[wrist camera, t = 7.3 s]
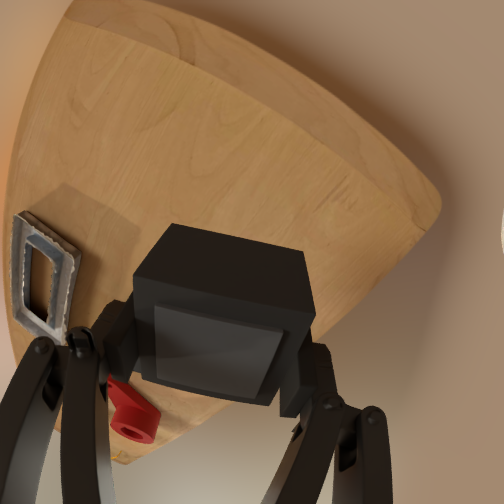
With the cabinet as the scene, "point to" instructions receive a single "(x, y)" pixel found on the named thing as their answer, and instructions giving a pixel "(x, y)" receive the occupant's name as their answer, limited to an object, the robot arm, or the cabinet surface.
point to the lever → (132, 413)
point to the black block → (220, 314)
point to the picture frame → (63, 277)
